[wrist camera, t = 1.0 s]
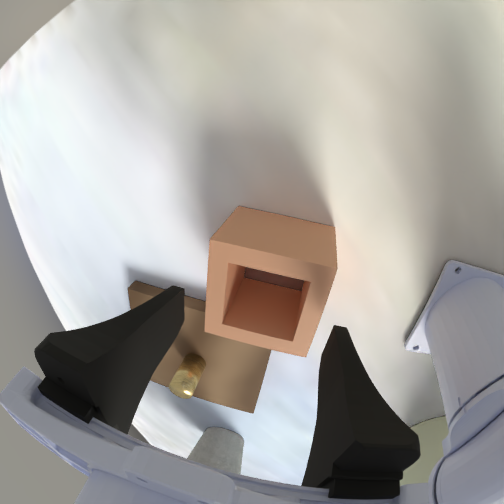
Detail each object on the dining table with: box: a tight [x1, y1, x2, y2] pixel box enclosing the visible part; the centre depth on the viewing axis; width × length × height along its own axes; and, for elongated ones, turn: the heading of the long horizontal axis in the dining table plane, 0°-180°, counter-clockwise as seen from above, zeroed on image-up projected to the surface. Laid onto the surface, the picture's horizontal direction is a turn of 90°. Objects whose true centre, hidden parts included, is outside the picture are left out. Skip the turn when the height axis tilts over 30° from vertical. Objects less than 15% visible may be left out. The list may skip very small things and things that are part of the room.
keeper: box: [128, 281, 271, 413], centre depth 23 cm, size 12×12×5 cm
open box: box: [205, 206, 337, 357], centre depth 17 cm, size 6×6×5 cm
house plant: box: [187, 427, 244, 474], centre depth 25 cm, size 14×14×16 cm
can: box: [400, 416, 449, 486], centre depth 20 cm, size 9×9×12 cm
